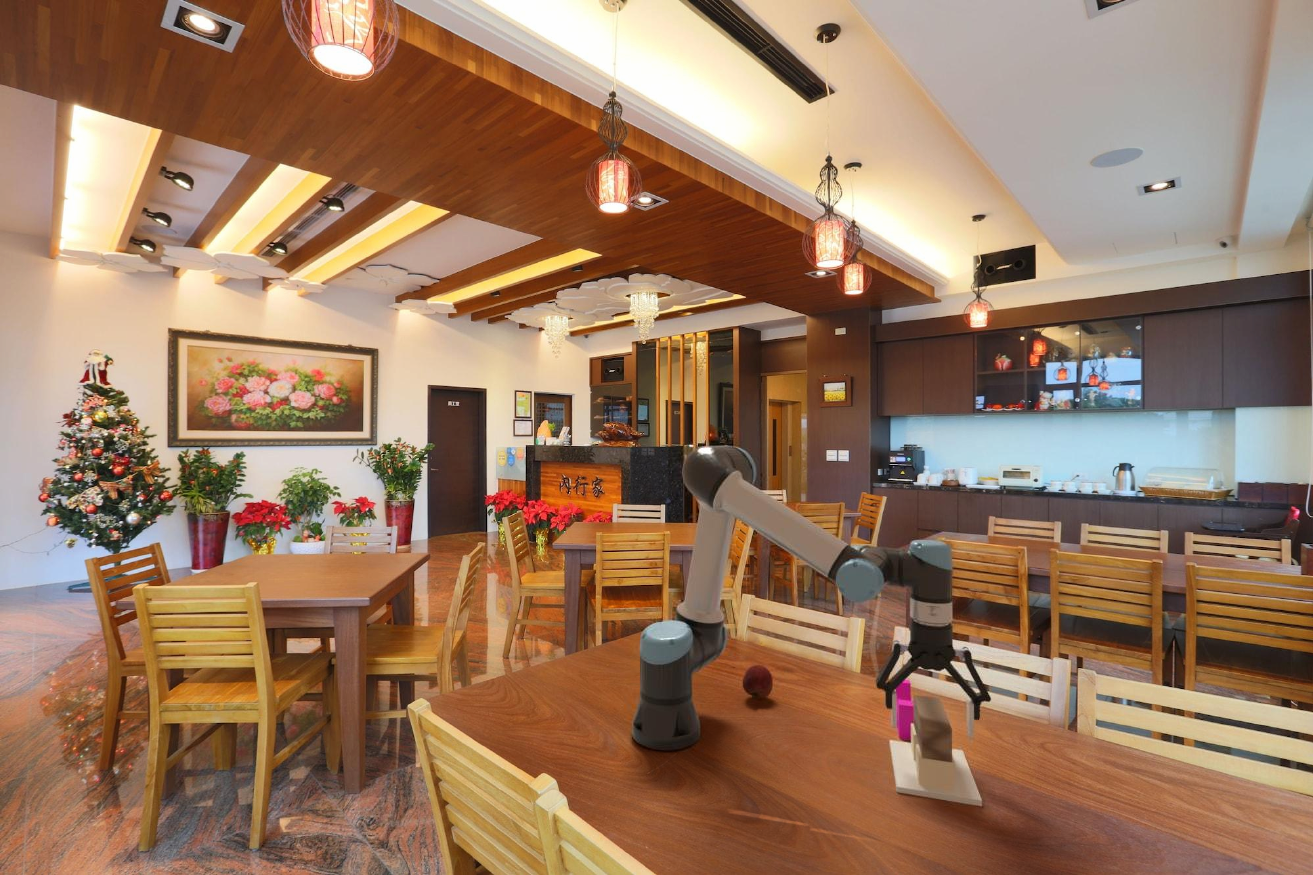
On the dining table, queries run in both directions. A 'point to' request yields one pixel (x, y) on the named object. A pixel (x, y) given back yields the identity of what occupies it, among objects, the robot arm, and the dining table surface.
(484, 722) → the dining table surface
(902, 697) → the toy block
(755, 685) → the apple
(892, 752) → the post board
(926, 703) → the lintel block
